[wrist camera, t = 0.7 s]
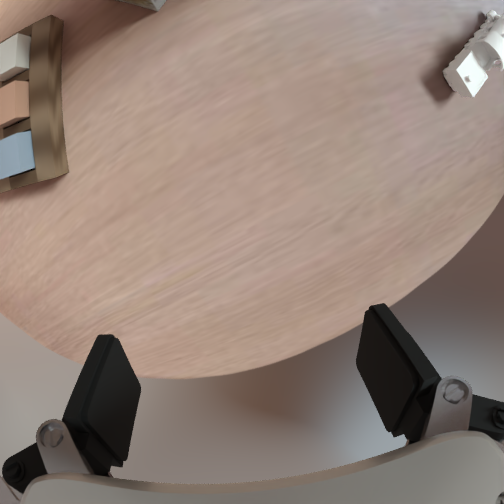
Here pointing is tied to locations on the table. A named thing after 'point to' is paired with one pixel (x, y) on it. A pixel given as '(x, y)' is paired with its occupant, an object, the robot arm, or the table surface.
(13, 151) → the key blue
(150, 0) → the coffee box
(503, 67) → the toy train
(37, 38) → the key panel
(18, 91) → the key terracotta
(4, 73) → the key white
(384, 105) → the table surface
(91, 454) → the robot arm
